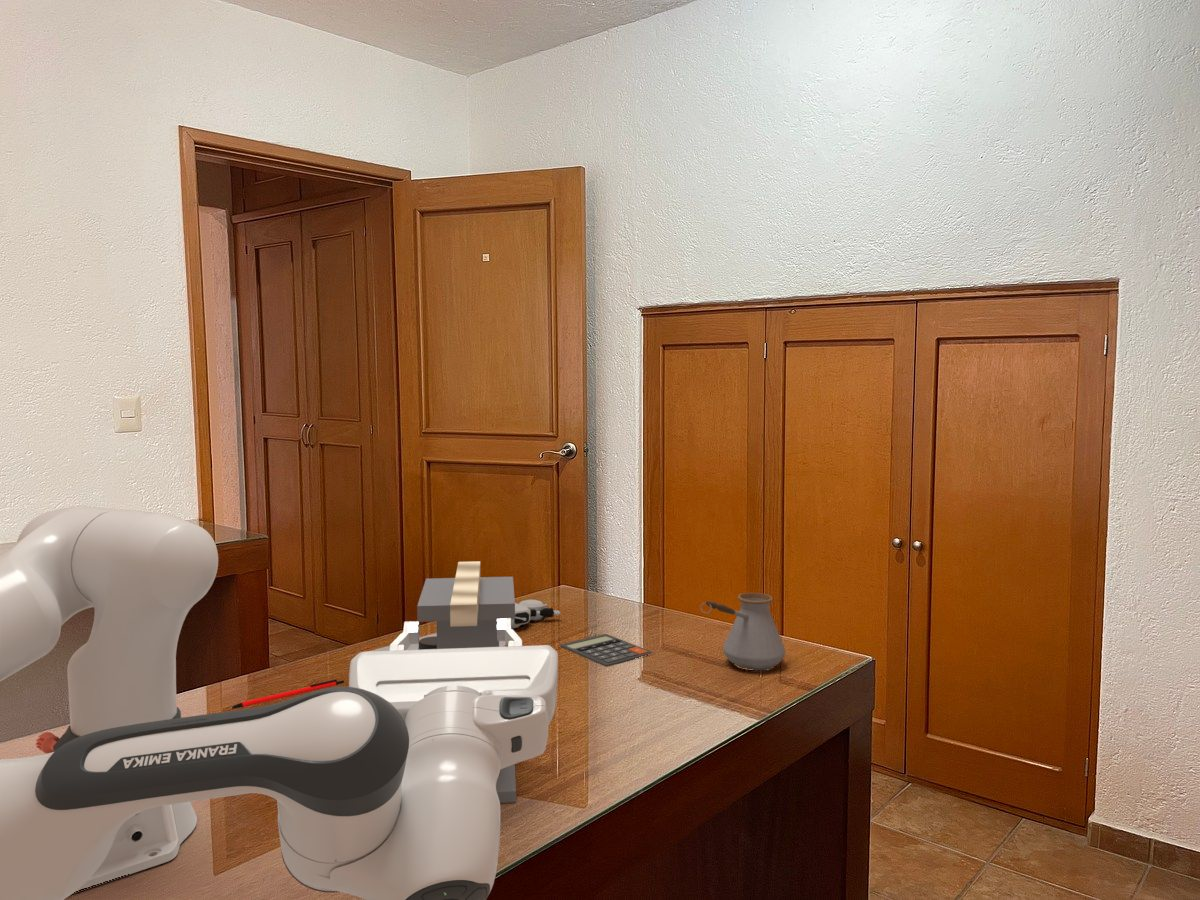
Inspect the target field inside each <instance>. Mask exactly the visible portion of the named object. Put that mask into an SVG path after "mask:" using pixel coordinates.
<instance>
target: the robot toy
mask: <svg viewBox="0 0 1200 900" xmlns="http://www.w3.org/2000/svg"><path fill="white" fill-rule="evenodd" d="M554 615H555V616H560V615H561V611H560V610H557V609H554V608H553V607H548V604H547V603H543V601H540V600H537V599H526V600H522V601H519V603H517V602H515V619H511V629H513V630H515V628H516V629H517V628H519V627H521V625H526V624H528V623H529V622H530V621H535V622H536V621H537V622H538V621H541V620H542V619H543V618H554Z"/></svg>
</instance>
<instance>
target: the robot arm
mask: <svg viewBox="0 0 1200 900" xmlns="http://www.w3.org/2000/svg"><path fill="white" fill-rule="evenodd" d="M217 548H218V547H217V545H216V542H215V541H214V539H213V537H212V535H211V534H210V533H209V532H208V531H207V530H206V529H205V528H203V527H201V526H199V525H198V524H195V523H192V522H190V521H188V520H185V519H183V518H180V517H178V516H175V515H173V514H169V513H159V512H153V511H152V512H150V511H142V510H140V511H139V510H131V509H130V510H129V509H117V508H109V507H107V508H106V507H96V506H88V505H87V506H86V505H79V506H71V507H66V508H64V507H63V508H60V509H54V510H50V511H46V512H43V513H41V514H39V515H37V516H35V517H34V518H33V519H31V520H30V521H29V522H28V523H27V524H26V525H25V526H24V527H23V529H22V530H21V532H20V534H19V535H18V538H17V540H16V543H15V544H13V545H12V546H11V547H9V548H8V549H7V550H6V551H4V552H3V553H2V554H0V682H3V681H4V680H5V679H7V678H9V677H11V676H12V675H15V674H16V673H17V672H19V671H21V670H23V669H24V668H26V667H29V666H30V665H31V664H32V663H35V662H36V661H38V660H40V659H41V658H43V657H45V656H46V655H48V654H49V653H50V652H51V651H52V650H53V649H54V648H55V646H56V645H57V643H58V642H59V640H60V636H61V631H62V630H61V629H62V626H63V625H64V624H65V623H66V622H67V621H68V620H69V619H71V618H72V617H73V616H74V615H76V614H78V613H80V612H81V611H84V610H86V609H91V608H93V609H94V615H93V616H94V617H93V624H92V628H91V632H90V635H89V638H88V640H87V642H86V643H84V644H83V645H81V646H80V647H79V648H77V650H75V651H74V653H73V654H72V656H71V657H70V659H69V661H68V664H67V669H66V673H67V687H68V688H67V689H68V704H69V705H68V707H69V709H68V710H69V722H70V723H69V725H68V727H67V728H66V730H65V732H64V733H63V734H62V735H61V737H59V736H57V735H55V734H54V733H52V732H50V731H45V732H42V733H40V735H39V736H38V738H36V739H35V742H36V743H35V746H36V748H37V749H38V750H40V751H42V752H43V753H44V754H39V755H34V756H33V755H32V756H26V757H15V758H0V900H66V899H67V898H68V897H70V896H71V895H72V894H75V893H76V892H75V891H76V890H79V889H82V888H86V887H88V886H92V885H96V884H99V883H102V884H104V883H103V882H105V881H108V882H110V881H109V880H111V881H113V880H112V879H114V878H117V877H120V878H122V877H121V876H123V877H125V876H124V875H126V876H129V875H132V874H135V873H137V872H138V873H139V872H141V871H144V870H147V869H150V868H153V867H156V866H159V865H161V864H165V863H167V862H170V861H171V860H173V859H175V858H176V856H178V853H179V850H180V846H181V844H182V843H183V842H184V841H185V840H186V839H187V838H188V837H189V836H190V834H191V833H193V831H194V830H195V829H196V825H197V822H198V817H197V816H198V815H197V814H196V812H195V809H194V807H193V805H192V802H196V801H197V802H198V801H204V800H205V801H206V800H211V799H218V798H225V797H231V796H239V795H245V794H246V795H248V794H260V795H265V796H267V797H270V798H272V799H274V800H276V804H277V813H278V814H277V825H278V827H277V828H278V835H279V840H280V841H279V843H280V853H281V857H282V861H283V864H284V866H285V868H286V870H287V872H288V873H289V874H290V875H291V876H292V877H293V878H294V880H296V881H297V882H298V883H299V884H300V885H303V886H304V887H306V888H308V889H311V890H313V891H317V892H321V893H342V894H343V893H344V894H347V895H351V896H355V897H358V898H361V899H363V900H487V899H488V897H489V895H490V894H491V891H492V889H493V886H494V883H495V879H496V875H497V871H498V870H497V869H498V862H499V853H500V843H501V842H500V841H501V813H502V812H501V803H500V801H499V798H498V795H497V791H496V782H497V779H498V776H499V773H500V770H501V769H503V768H505V767H508V766H511V765H513V764H515V765H516V764H519V763H521V762H524V761H528V760H531V759H534V758H537V757H540V756H541V755H543V754H544V753H545V751H546V748H547V745H548V744H547V743H548V737H549V724H550V722H551V721H552V719H553V718H554V714H555V709H556V706H557V705H556V704H557V696H558V681H559V678H558V677H559V653H558V651H557V650H555V648H553V647H552V646H551V645H550V644H540V645H539V644H538V645H523V639H521V637H520V636H519V635H518V634H517V632H516V631H515V629H511V618H497V641H505V642H506V647H479V648H451V649H423V650H407V649H408V648H409V646H410V645H411V644H419V638H420V637H421V636H420V635H421V629H420V627H421V626H420V622H419V621H417V620H407V621H406V620H405V621H404V622H403V630H402V632H401V633H400V634H399V635H397V637H396V638H395V639H394V640H393V641H392V642H391V643H390V645H389V646H390V650H389V651H372V650H369V651H359V653H357V654H356V655H355V656H354V657H353V658H352V659H351V660H350V662H349V663H350V665H349V671H348V686H330V687H325V688H321V689H317V690H313V691H310V692H306V693H305V694H302V695H301V694H300V695H299V696H295V697H292V698H290V699H287V700H283V701H279V702H276V703H272V704H271V703H270V704H267V705H263V706H257V707H252V708H243V709H237V710H229V711H221V712H214V713H207V714H201V715H200V714H198V715H193V716H184V717H182V711H181V710H180V707H178V706H177V705H178V703H177V701H178V700H177V659H176V658H177V648H178V642H179V637H180V635H181V630H182V627H183V625H184V622H185V620H186V617H187V615H188V613H189V612H190V610H191V609H192V608H193V607H194V605H196V604H197V603H198V602H199V601H201V600H202V599H203V598H204V597H205V596H206V595H207V593H208V592H209V590H210V589H211V587H212V586H213V584H214V582H215V579H216V577H217V573H218V570H219V568H218V567H219V553H218V549H217ZM128 874H129V875H128ZM117 879H118V878H117ZM114 880H115V879H114ZM105 883H106V882H105ZM99 885H100V884H99ZM96 886H97V885H96ZM74 892H75V893H74Z"/></svg>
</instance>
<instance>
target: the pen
mask: <svg viewBox="0 0 1200 900" xmlns="http://www.w3.org/2000/svg"><path fill="white" fill-rule="evenodd" d="M343 683H345V681H344V680H340V681H338V679H331V680H327V681H323V682H319V683H314V684H310V685H309V686H307V687H303V688H302V687H301V688H299V689H294V690H289V691H285V692H281V693H277V694H272V695H268V696H264V697H260V698H259V697H258V698H255V699H251V700H247V701H243V702H240V703H238V704H235V705H233V706H231V707H230V709H238V708H244V707H248V706H253V705H257V704H260V703H266V702H270V701H273V700H277V699H278V700H279V699H282V698H287V697H290V696H294V695H299V694H300V695H301V694H302V693H309V692H313V691H317V690H321V689H326V688H330V687H335V686H337V685H339V684H343Z"/></svg>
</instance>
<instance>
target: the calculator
mask: <svg viewBox="0 0 1200 900" xmlns="http://www.w3.org/2000/svg"><path fill="white" fill-rule="evenodd" d="M559 647H560V648H563V649H565V650H567V651H569V652H571V653H574V654H576V655H579V656H581V657H583V658H585V659H587V658H588V660H590V661H592V662H594V663H597V664H599V665H601V666H603V667H607V668H608V667H611V666H615V665H618V664H622V663H623V664H624V663H625V662H626V661H627V662H630V660H631V661H634V660H633V659H635V658H638V659H640V658H639V657H641V656H645V655H648V654H651V653H653V654H654V651H652V650H649V649H646V648H643V647H641V646H638V645H636V644H634V643H631V642H628V641H625V640H623V639H620V638H618V637H615V636H613V635H610V634H607V633H603V634H599V635H594V636H590V637H587V638H582V639H578V640H573V641H569V642H565V643H561V644H559ZM635 660H636V659H635ZM627 662H626V663H627Z"/></svg>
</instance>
